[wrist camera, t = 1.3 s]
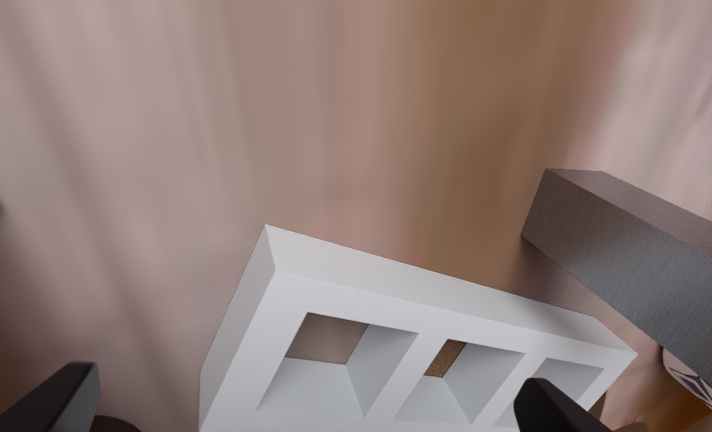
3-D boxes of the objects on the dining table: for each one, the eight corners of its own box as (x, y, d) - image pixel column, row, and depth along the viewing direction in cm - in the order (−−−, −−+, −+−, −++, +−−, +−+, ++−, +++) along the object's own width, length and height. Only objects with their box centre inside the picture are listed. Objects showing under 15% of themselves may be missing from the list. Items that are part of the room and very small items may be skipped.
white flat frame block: (200, 370, 23) (198, 433, 20) (265, 224, 20) (275, 269, 17) (524, 404, 36) (556, 446, 33) (594, 317, 33) (638, 354, 30)
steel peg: (520, 234, 26) (714, 387, 16) (546, 168, 24) (784, 295, 14) (574, 233, 28) (782, 373, 17) (602, 171, 26) (855, 288, 16)
